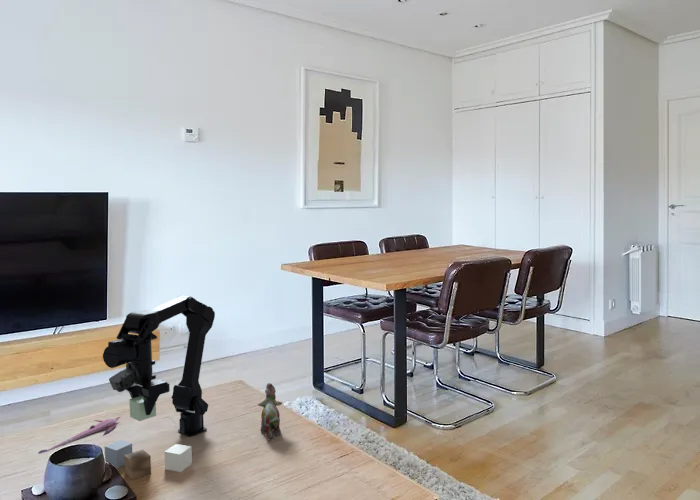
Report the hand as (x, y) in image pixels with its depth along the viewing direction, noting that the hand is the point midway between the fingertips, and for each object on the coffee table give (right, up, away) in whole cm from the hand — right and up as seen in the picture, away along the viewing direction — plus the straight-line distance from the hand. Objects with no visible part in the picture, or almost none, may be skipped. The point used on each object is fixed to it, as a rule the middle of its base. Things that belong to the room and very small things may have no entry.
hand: (143, 412), depth 155 cm
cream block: (+11, -14, -4) cm, 18 cm away
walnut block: (+2, -14, -8) cm, 16 cm away
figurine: (+33, -12, +17) cm, 39 cm away
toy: (-24, -12, +16) cm, 31 cm away
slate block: (-6, -13, -1) cm, 15 cm away
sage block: (0, -1, 0) cm, 1 cm away
